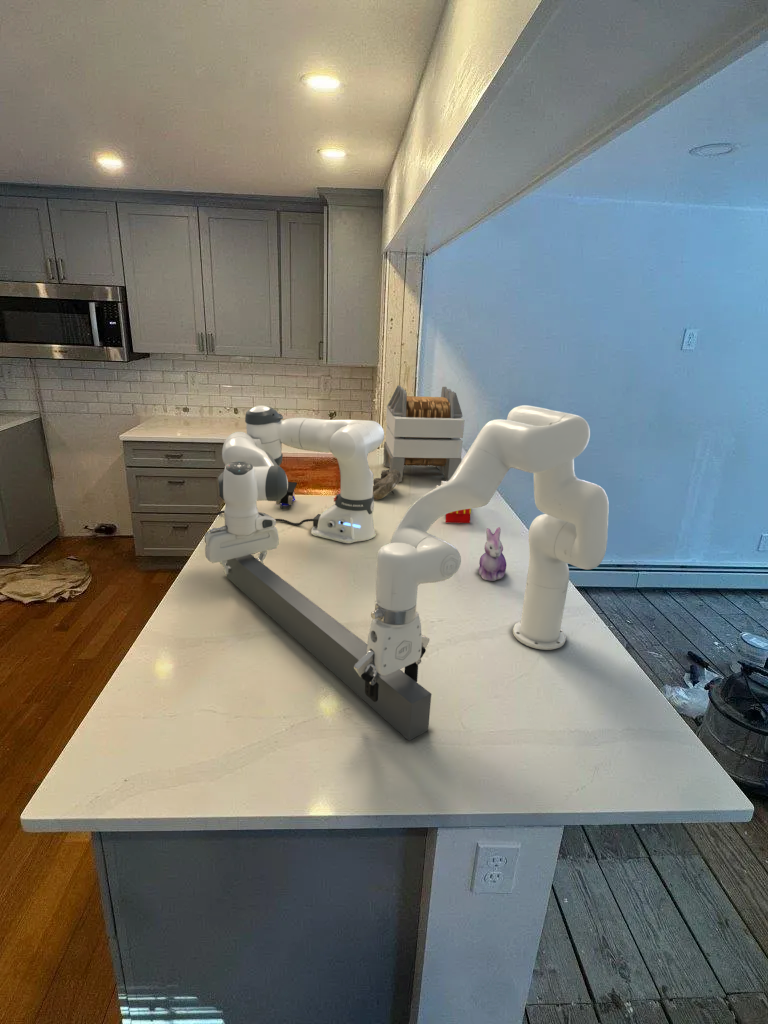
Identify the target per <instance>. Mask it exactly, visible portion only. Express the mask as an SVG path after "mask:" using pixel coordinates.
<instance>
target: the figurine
mask: <svg viewBox="0 0 768 1024" xmlns="http://www.w3.org/2000/svg"><path fill="white" fill-rule="evenodd" d="M501 529H502V528H501V527H500V526H499V527H497V528H496V530H495V531H494V532H492V530H491V529H490V528H489V527H487V528H486V529H485V534H486V542H485V544H484V546H483V547H484V553H483V554H482V555H481V556H480V557H479V567H478V575H479V576H480V577H481V579H483V580H485V581H491V582H495V581H497V580H501V579H503V578H504V576H505V574H506V569H507V560H506V558H505V554H504V553H503V551H504V546H503V544H502V541H501V531H502V530H501Z"/></svg>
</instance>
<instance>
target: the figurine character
mask: <svg viewBox="0 0 768 1024" xmlns="http://www.w3.org/2000/svg"><path fill="white" fill-rule="evenodd" d="M297 484H298V482H296V481H295V482H294V481H288V489H287V494H286V495H285V496H284V497H283V498H282V499H281V500H279V501H275V503H276V505H279V508H280V509H283V506H285V507H287V509H290V508H291V506H292V505H293V503H294V502H295V501H296V497H295V496H296V492H295V489H296V488H297Z"/></svg>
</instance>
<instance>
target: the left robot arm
mask: <svg viewBox="0 0 768 1024" xmlns="http://www.w3.org/2000/svg"><path fill="white" fill-rule="evenodd" d="M244 419H245V420H244V421H245V424H246V427H245V428H246V432H244V431H235V432H232V433H231V434H229V435H228V436H227V438H225V440H224V442H223V445H222V449H221V459H222V462H223V465H224V470H223V471H222V472H221V473H220V474H219V475H218V477H217V478H218V479H217V480H218V488H219V491H218V492H219V498H221V500H223V502H224V505H225V507H224V510H220V511H218V512H217V513H215V514H216V515H217V516H219V515H221V514H223V515H224V516H223V517H224V525H223V526H219V527H213V528H210V529H209V530H207V532H205V534H204V543H205V549H204V552H205V553H204V554H205V555H204V556H205V558H206V560H207V561H209V562H210V563H211V564H217V563H219V564H220V565H221V566H222V568H223V573H224V574H225V576H226V575H227V574H231V573H232V572H231V567H230V566H226V564H227V560H230V559H234V558H238V557H242V556H246V555H250V554H251V555H255V554H259V555H258V557H257V558H256V559H257V560H259V561H260V562H261V563H262V564H264V560H265V558H266V556H267V554H268V551H271V550H275V549H277V548H278V547H279V545H280V539H279V537H280V536H279V531H278V528H277V527H276V523H277V522H283V523H286V524H289V525H291V526H296V527H297V526H301V525H303V524H304V523H307V522H312V528H311V530H310V533H311V536H315V537H319V538H323V539H326V540H330V541H336V542H339V543H343V544H352V543H357V542H365V541H368V540H372V539H373V538H375V537H376V535H377V532H376V528H375V523H374V513H373V512H374V509H375V499H374V496H373V486H374V484H373V480H374V473H373V471H372V470H371V469H370V466H369V460H368V456H369V454H370V453H372V452H375V451H376V450H377V449H379V448H380V446H381V445H382V444H383V443H384V441H385V430H384V428H383V426H382V425H381V424H380V423H379V422H378V421H375V420H364V419H322V418H312V417H290V418H286V419H284V416H283V414H281V413H279V412H278V411H277V410H276V409H274V408H273V407H271V406H268V405H256V406H253V407H250V408H249V409H248V410H247V411H245V418H244ZM282 444H283V445H285V446H287V447H290V448H293V449H297V450H303V451H308V452H309V451H310V452H317V453H324V454H325V453H326V454H329V453H331V454H332V455H333V457H334V458H335V459H336V461H337V465H338V468H339V476H340V488H339V489H340V490H339V491H338V492H337V494H336V495H335V496H334V497H333V502H334V504H333V505H331V506H329V507H328V508H326V509H325V510H323V512H321V513H318V514H317V515H315V516H314V517H313V518H305V519H302V520H301V521H300V522H292V521H289V520H287V519H283V518H274V517H272V515H269V514H267V513H265V512H262V511H259V509H258V505H257V502H261V501H262V502H264V501H268V502H276V501H279V500H281V499H282V498H283V497H284V496H285V495H286V494H287V489H288V482H289V480H288V476H287V474H286V471H285V470H284V469H283V468H282V467H281V465H282V463H283V456H284V455H283V448H282V447H283V445H282Z"/></svg>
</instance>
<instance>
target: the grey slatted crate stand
mask: <svg viewBox="0 0 768 1024" xmlns="http://www.w3.org/2000/svg"><path fill="white" fill-rule="evenodd" d="M440 393H441V394H440V396H415V395H414V396H413V395H412V396H411V395H407V394H408V393H407V390H406V389H404V388H403V387H402V385H399V384H398V385H397V386H396V388H395V390H394V392H393V394H392V395H391V398H390V400H389V402H388V404H387V405H386V413H385V414H386V415H385V423H386V428H385V437H384V441H383V466H384V467H388V468H389V471H392V470H395V469H396V470H397V471H399V472H400V474H401V478H400V480H399V483H402V482H403V475H404V469H405V466H406V467H407V466H411V467H412V466H413V467H415V466H416V467H417V466H418V467H436V468H437V470H438V469H439V473H440V474H441V475H443V478H444V479H445V481H449V480H450V479H451V477H452V476H453V474H454V472H455V471H456V469H457V468H458V466H459V464H460V463H461V461H462V460H463V458H462V453H463V442H464V441H463V440H462V439H463V438H464V431H465V430H464V429H465V419H464V418H463V411H462V408H461V405H460V402H459V398H458V395H457V392H455V391H453V390H452V389H451V388H447V386H442V387H441V392H440Z"/></svg>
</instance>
